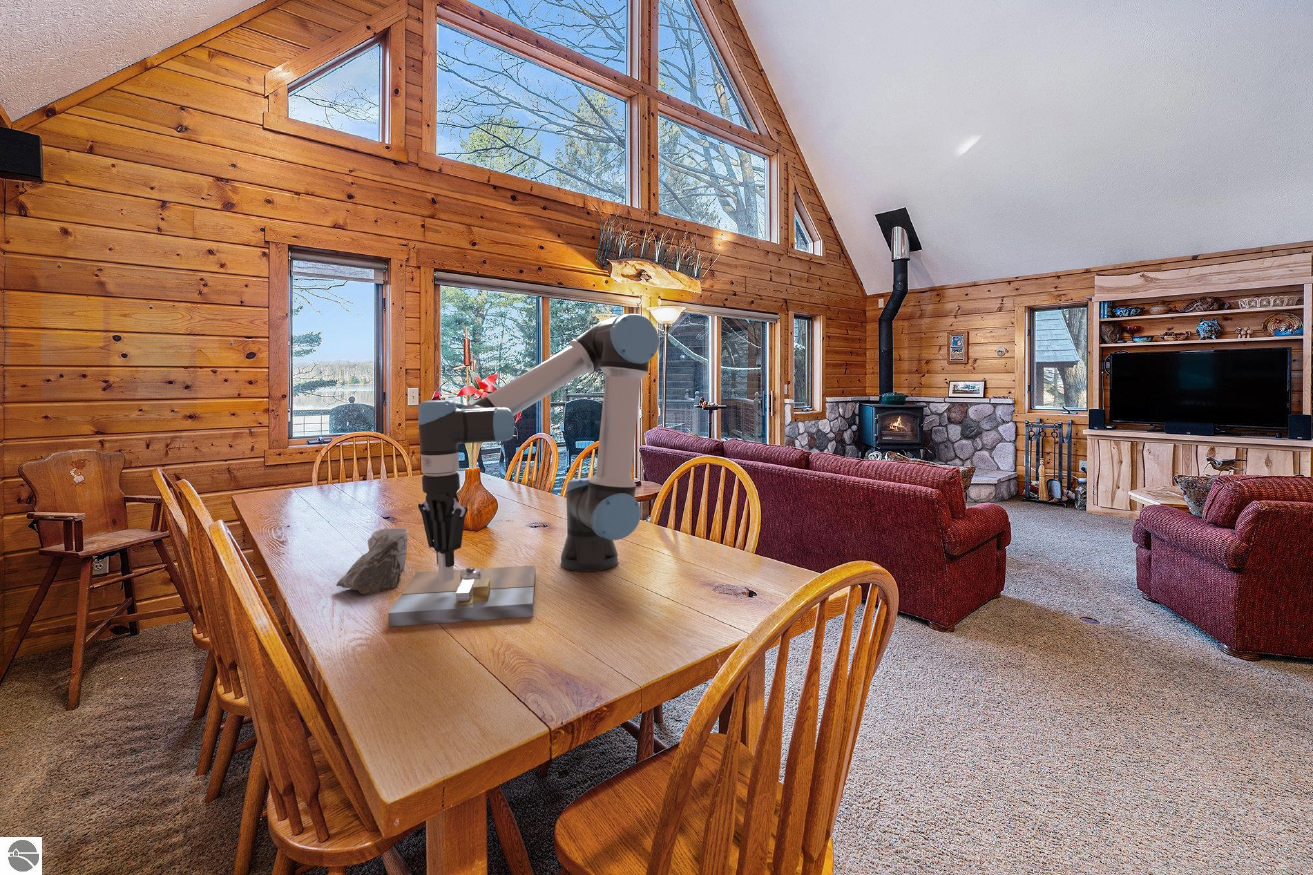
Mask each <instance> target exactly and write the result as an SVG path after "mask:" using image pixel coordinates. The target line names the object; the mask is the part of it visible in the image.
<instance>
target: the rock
mask: <svg viewBox="0 0 1313 875" xmlns="http://www.w3.org/2000/svg"><path fill="white" fill-rule="evenodd" d="M398 555H399V551H398V541H396V540H395V539H394V538H393V537H392V536H390V535H389V534H385V535H383V536H381V537H379V538H378V539H377V540H376V543H375V544H374V546H373V547H372V548H371V549H370V551H369V550H368V551H367V552H366V553H364V554H362V555H361V556H360V557H359V558H358V559H357V560H356V561H355V563H353V564H352V566H351V567H350V568H349V569H348V570H347V572H346V573H345V575H344V576H342V577H341V578H340V579H339V580H338V582H337V583H336V584H335V585H336V587H340V588H347V589H349V590H357V591H358V592H359V593H360V594H362V595H375V594H379V593H381V592H384V591H388V590H392V589H394V588H397V587H398V586H399V583H400V582H401V571H400V564H399V561H398Z"/></svg>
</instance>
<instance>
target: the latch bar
mask: <svg viewBox="0 0 1313 875" xmlns="http://www.w3.org/2000/svg"><path fill="white" fill-rule="evenodd" d="M480 569H481V568H475V567H473V566H472V567H467V568H465V569H464V570H462V569H461V570H462V571H461V572H460V580H461V584H460V586H459V588H458V590H457V592H456V602H459V601H469V600H470V598H471V595H472V593H473V585H474V582H475V579H481V570H480Z"/></svg>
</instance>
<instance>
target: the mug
mask: <svg viewBox="0 0 1313 875" xmlns="http://www.w3.org/2000/svg"><path fill="white" fill-rule="evenodd" d="M408 533H409V532H408V530H407V529H406V528H401V527H398V528H397V527H394V528H393V527H392V528H391V527H390V528H385V529H379V530H376V531H373V532H371V537H369V538H368V541H367V546H368V551H370V549H371V548H372V547H373V546H374V544H375V543H376V540H377V539H378V538H379V537H381V536H383V535H385V534H389V535H390V536H392V537H393V538H394V539H395V540H396V541H398V551H399V555H398V561H399V564H400V571H403V570H404V569H405V566H406V561H407V560H406V558H407V553H408V552H407V551H408V535H409V534H408Z"/></svg>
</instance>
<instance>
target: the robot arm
mask: <svg viewBox="0 0 1313 875" xmlns="http://www.w3.org/2000/svg"><path fill="white" fill-rule="evenodd" d="M659 340H660V339H659V333H658V331H657V329H656V326H655V325H654V324H653V322H652V321H651V320H650V319H649V318H647V317H646V316H644V315H642V314H638V313H623V314H620V315H617V316H614V317H608V318H605V319H602V320H601V321H599V322H598V323H596V324H595V325H593V326H592V327H591V328H589V329H587V330H586V331H585V332H583V333H581V335H579V336H577V337H575V338H574V339H572V340H570V344H569V347H567V348H565V349H562V351H560V352H559V353H557V354H555V355H553V356H551V357H550V358H547V360H545V361H543V362H542V363H539V364H538V365H536V366H534V367H533V368H532V369H530V370H528V371H526V372H525V373H523V374H521V375H519V376H518V377H516V378H514V379H512V380H511V381H509V382H507V383H506V384H504V385H502V386H501V387H499V388H498V389H496V390H494V391H492V392H490V393H489V394H486V396H484V397H483V398H481V399H479V400H477V401H476V402H474V403H471V404H467V405H465V406H463V407H462V408H457V405H456V402H455V401H454V400H452V399H449V400H447V399H446V400H439V399H438V400H423V401H421V402H420V403H419V404H418V409H417V410H418V415H417V416H418V422H417V425H418V436H419V437H418V439H419V451H420V463H421V464H420V465H421V473H423V474H422V476H421V488H422V492H423V493H424V494H426V496H425V500H424V501H423V502H421V503H418V506H417V507H418V510H419V511H420V514H421V518H422V523H423V528H424V531H425V535H426V540H427V544H428V547H429V548H433V550H434V551H435V553H436V564H437V567H438V568H437V569H438V571H439V582H442V583H445V582H448V581H450V580H453V579H454V570H455V569H454V566H455V551H457V550H459V549H461V548H462V543H463V537H464V536H463V535H464V528H465V519H466V515H467V513H468V510H469V509H468V506H462V505H461V504H460V503H459V502H460V499H459V497H458V491H459V490H460V488H461V483H460V474H459V470H460V462H459V461H460V460H459V445H460V444H461V445H464V444H465V445H466V444H477V443H479V444H480V443H481V444H482V443H500V442H506V441H507V442H508V441H510V440H512V439H513V438H514V434H515V418H514V416H516V415H518V414H519V413H522V411H524V410H526V409H527V408H529V407H531V406H532V405H534V404H536V403H537V402H539V401H541V400H542V399H544V398H545V397H547V396H549V395H551V394H552V393H554V392H555V391H557V390H558V389H560V388H563V386H565V385H567V384H568V383H570V382H571V381H574V380H575V379H577V378H578V377H580V376H582V375H583V374H585V373H587V374H592V373H595V371H598V370H599V369H600V370H601V372H602V373H603V374H604V376H605V380H604V388H603V398H602V400H603V401H602V410H601V419H600V429H599V437H598V438H599V440H598V449H597V459H596V467H595V469H596V470H595V474H594V475H593V476H591V477H585V478H584V477H583V478H582V477H581V478H573V479H570V480H568V481H567V483H566V491H565V494H566V524H567V526H566V527H567V528H566V532H567V533H566V534H567V535H566V539H565V542H564V544H563V548H562V552H561V554H560V564H561V567H563V568H564V569H567V570H571V571H575V572H600V571H604V570H608V569H611V568H613V567H615V566H616V565H617V564H618V563H619V562H618V561H619V558H618V556H619V554H618V551H617V547H616V545H615V542H614V541H619V540H623V539H625V538H627V537H629V536H630V535H631V534H632V533H633V532H635V530H636V529H637V527H638V526H639V523H640V521H641V515H642V512H641V511H642V510H641V507H640V504H639V503H638V500H637V499H636V498H635V497H636V488H637V483H636V482H635V481H634V480H633V478H632V476H631V475H632V469H633V468H632V467H633V460H634V458H633V457H634V447H635V439H636V438H635V437H636V431H637V429H636V428H637V420H638V419H637V418H638V410H639V399H640V392H641V391H640V390H641V381H642V379H644V377H646V376H647V375H648V374H649V364H650V360H652V359H653V358H654V356H655V355H656V353H657V352H658V350H659V345H660V341H659Z"/></svg>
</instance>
